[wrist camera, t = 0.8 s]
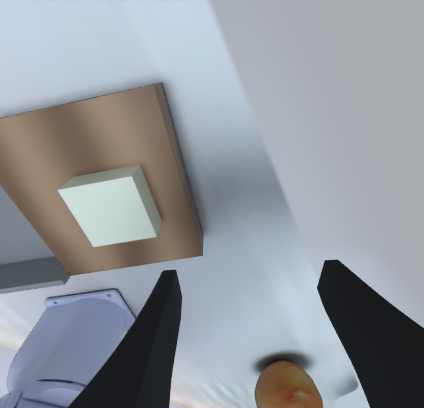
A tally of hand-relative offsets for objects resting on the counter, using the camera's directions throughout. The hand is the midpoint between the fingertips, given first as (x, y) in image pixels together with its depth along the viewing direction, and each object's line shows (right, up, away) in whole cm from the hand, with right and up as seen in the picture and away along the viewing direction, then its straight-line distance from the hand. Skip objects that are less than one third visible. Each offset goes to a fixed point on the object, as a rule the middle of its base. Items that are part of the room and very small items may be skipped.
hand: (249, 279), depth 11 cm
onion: (+10, -24, +28) cm, 38 cm away
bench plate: (-10, +5, +9) cm, 15 cm away
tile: (-9, +4, +6) cm, 11 cm away
